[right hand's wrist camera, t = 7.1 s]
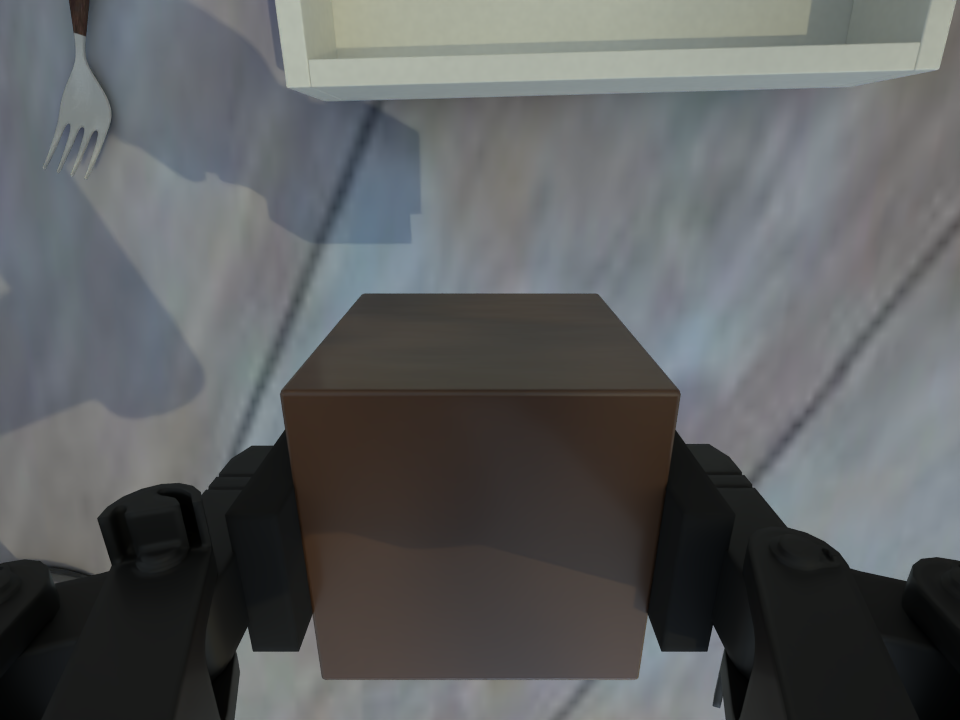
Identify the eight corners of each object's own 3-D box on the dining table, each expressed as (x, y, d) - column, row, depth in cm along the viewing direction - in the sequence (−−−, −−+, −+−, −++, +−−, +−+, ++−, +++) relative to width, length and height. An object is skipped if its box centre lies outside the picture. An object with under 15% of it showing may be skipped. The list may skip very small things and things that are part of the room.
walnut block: (377, 493, 16) (321, 682, 10) (361, 292, 13) (276, 391, 8) (582, 493, 16) (639, 682, 10) (599, 293, 13) (683, 391, 8)
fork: (110, -180, 24) (79, -207, 22) (114, 179, 30) (89, 181, 28) (51, -197, 24) (14, -226, 22) (65, 167, 30) (38, 169, 28)
